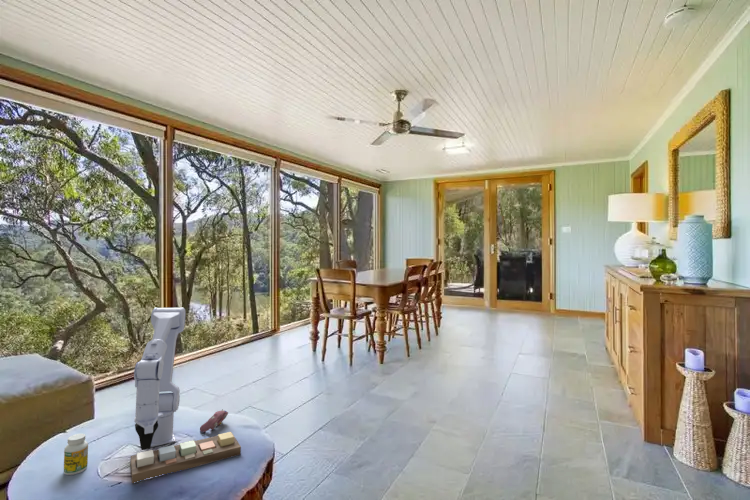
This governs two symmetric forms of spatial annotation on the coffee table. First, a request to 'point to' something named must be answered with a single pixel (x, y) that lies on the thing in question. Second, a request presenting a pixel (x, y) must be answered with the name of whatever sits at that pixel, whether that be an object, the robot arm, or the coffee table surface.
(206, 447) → the terracotta key
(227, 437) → the ochre key
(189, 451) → the sage key
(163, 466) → the keypad
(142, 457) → the offwhite key
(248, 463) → the coffee table surface
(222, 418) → the video game controller
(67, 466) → the supplement bottle
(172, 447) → the bluegrey key
